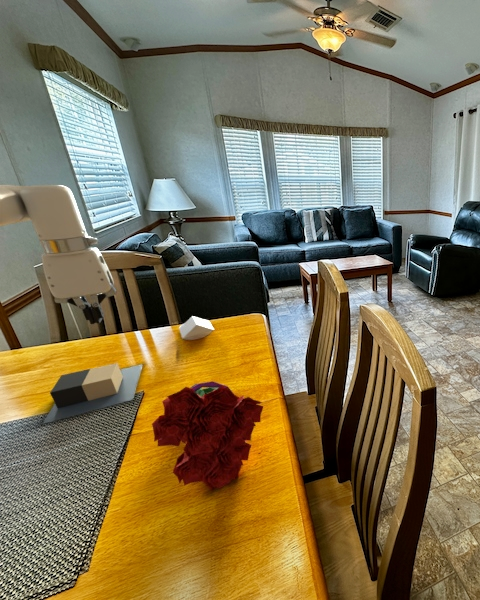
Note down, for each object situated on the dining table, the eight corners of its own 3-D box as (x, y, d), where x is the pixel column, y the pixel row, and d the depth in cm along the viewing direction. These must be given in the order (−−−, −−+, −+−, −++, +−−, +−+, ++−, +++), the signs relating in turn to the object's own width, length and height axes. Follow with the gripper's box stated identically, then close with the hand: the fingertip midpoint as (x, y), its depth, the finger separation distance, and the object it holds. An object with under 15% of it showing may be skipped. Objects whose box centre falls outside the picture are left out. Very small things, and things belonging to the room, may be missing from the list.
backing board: (43, 427, 72) (41, 424, 71) (69, 384, 86) (68, 381, 86) (134, 403, 79) (132, 399, 79) (143, 367, 94) (142, 364, 93)
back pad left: (57, 408, 76) (49, 392, 74) (68, 390, 82) (61, 375, 81) (88, 400, 78) (81, 385, 77) (96, 383, 85) (90, 368, 83)
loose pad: (88, 400, 78) (81, 385, 77) (96, 383, 85) (90, 368, 83) (117, 393, 81) (111, 378, 79) (123, 377, 87) (117, 362, 86)
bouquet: (234, 411, 85) (280, 460, 63) (158, 446, 75) (181, 519, 52) (213, 341, 81) (254, 367, 59) (130, 367, 70) (141, 410, 48)
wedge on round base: (216, 338, 109) (208, 325, 118) (212, 320, 106) (204, 308, 116) (185, 347, 104) (179, 332, 113) (180, 328, 101) (174, 315, 111)
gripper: (114, 238, 77) (138, 309, 84) (26, 246, 70) (60, 322, 77) (107, 244, 71) (133, 320, 78) (10, 253, 64) (48, 335, 71)
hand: (96, 321), depth 78 cm, fingers closed
